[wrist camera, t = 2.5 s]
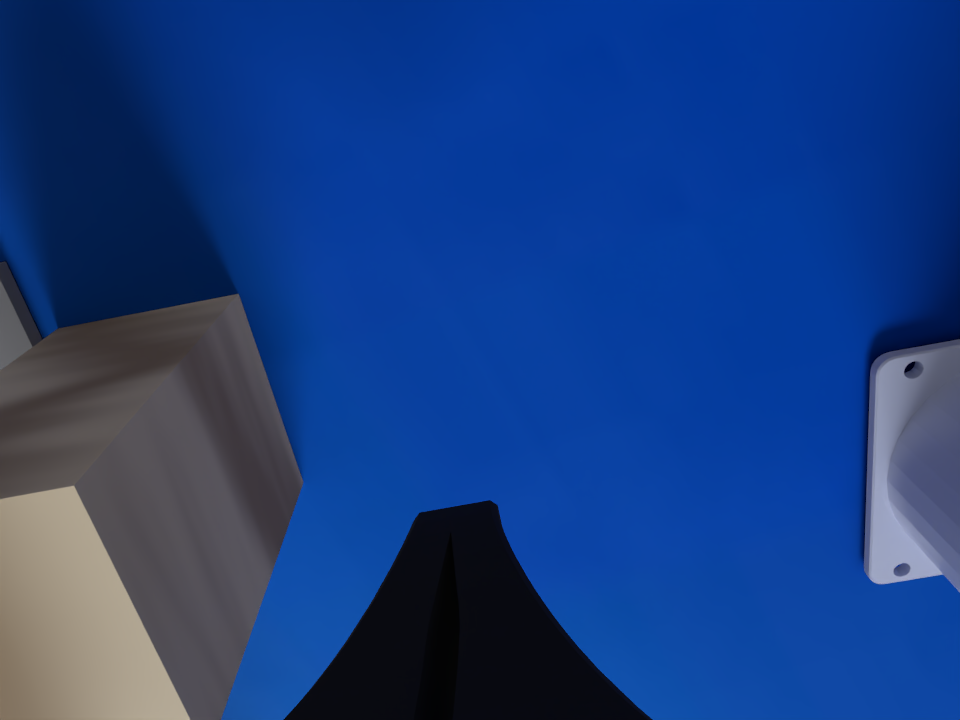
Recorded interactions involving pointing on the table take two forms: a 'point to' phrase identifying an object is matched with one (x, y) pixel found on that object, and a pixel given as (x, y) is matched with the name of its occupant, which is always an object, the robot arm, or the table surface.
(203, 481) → the maple block
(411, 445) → the table surface
